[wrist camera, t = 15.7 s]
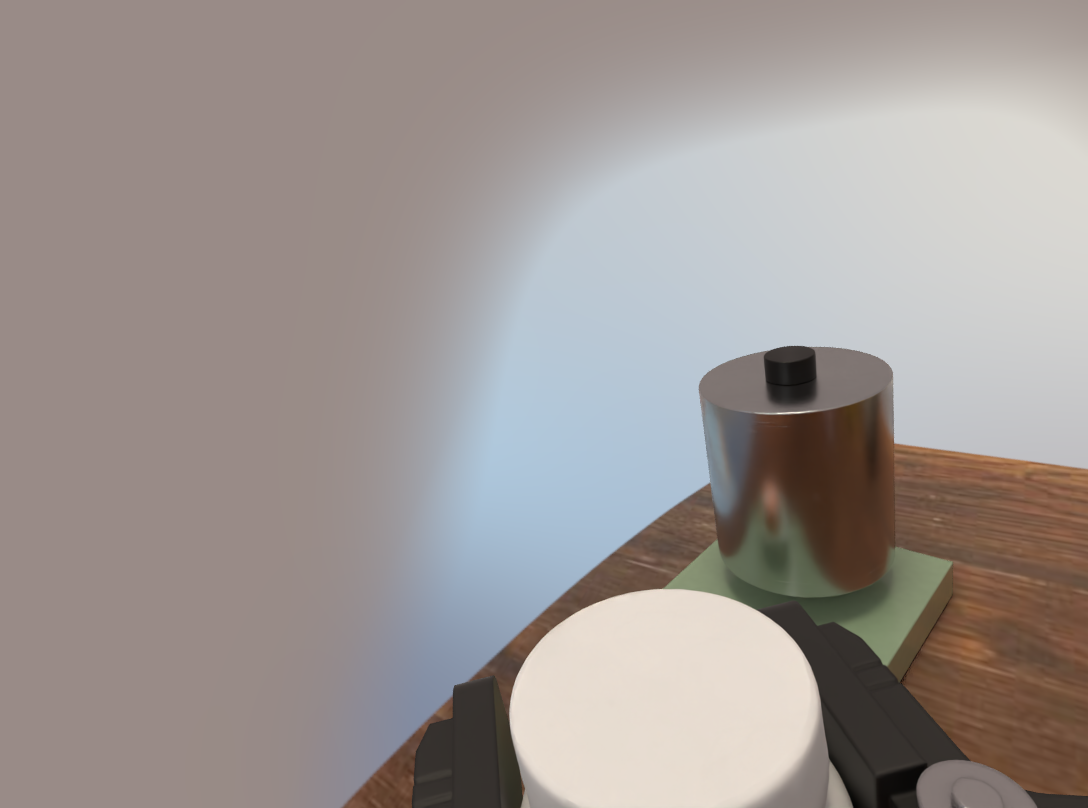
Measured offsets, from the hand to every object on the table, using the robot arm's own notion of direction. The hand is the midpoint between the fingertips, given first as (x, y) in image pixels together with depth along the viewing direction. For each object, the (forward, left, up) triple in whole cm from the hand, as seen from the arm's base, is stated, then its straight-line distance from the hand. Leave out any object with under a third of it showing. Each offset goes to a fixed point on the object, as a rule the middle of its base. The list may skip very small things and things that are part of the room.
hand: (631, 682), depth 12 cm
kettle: (+12, +21, -13) cm, 27 cm away
